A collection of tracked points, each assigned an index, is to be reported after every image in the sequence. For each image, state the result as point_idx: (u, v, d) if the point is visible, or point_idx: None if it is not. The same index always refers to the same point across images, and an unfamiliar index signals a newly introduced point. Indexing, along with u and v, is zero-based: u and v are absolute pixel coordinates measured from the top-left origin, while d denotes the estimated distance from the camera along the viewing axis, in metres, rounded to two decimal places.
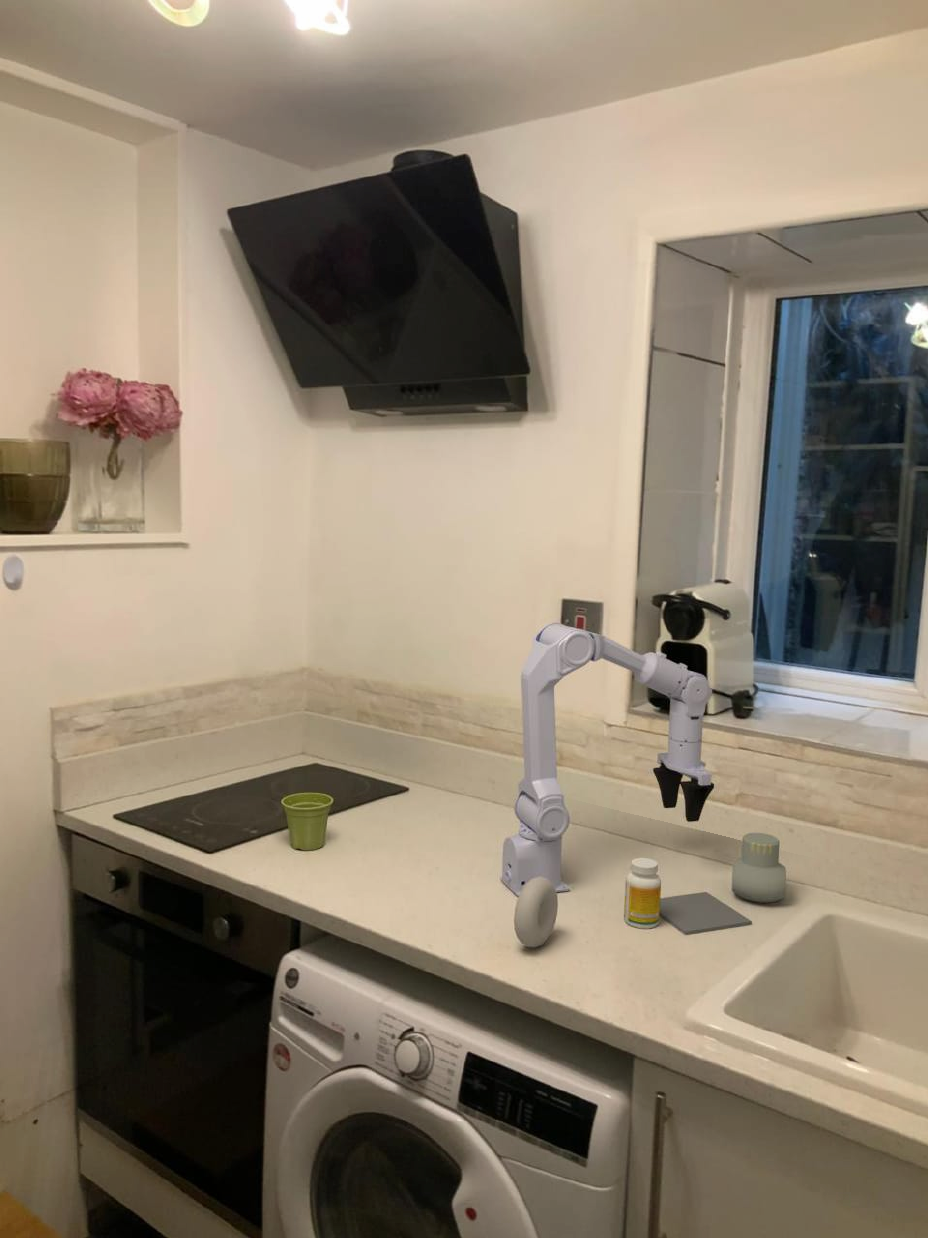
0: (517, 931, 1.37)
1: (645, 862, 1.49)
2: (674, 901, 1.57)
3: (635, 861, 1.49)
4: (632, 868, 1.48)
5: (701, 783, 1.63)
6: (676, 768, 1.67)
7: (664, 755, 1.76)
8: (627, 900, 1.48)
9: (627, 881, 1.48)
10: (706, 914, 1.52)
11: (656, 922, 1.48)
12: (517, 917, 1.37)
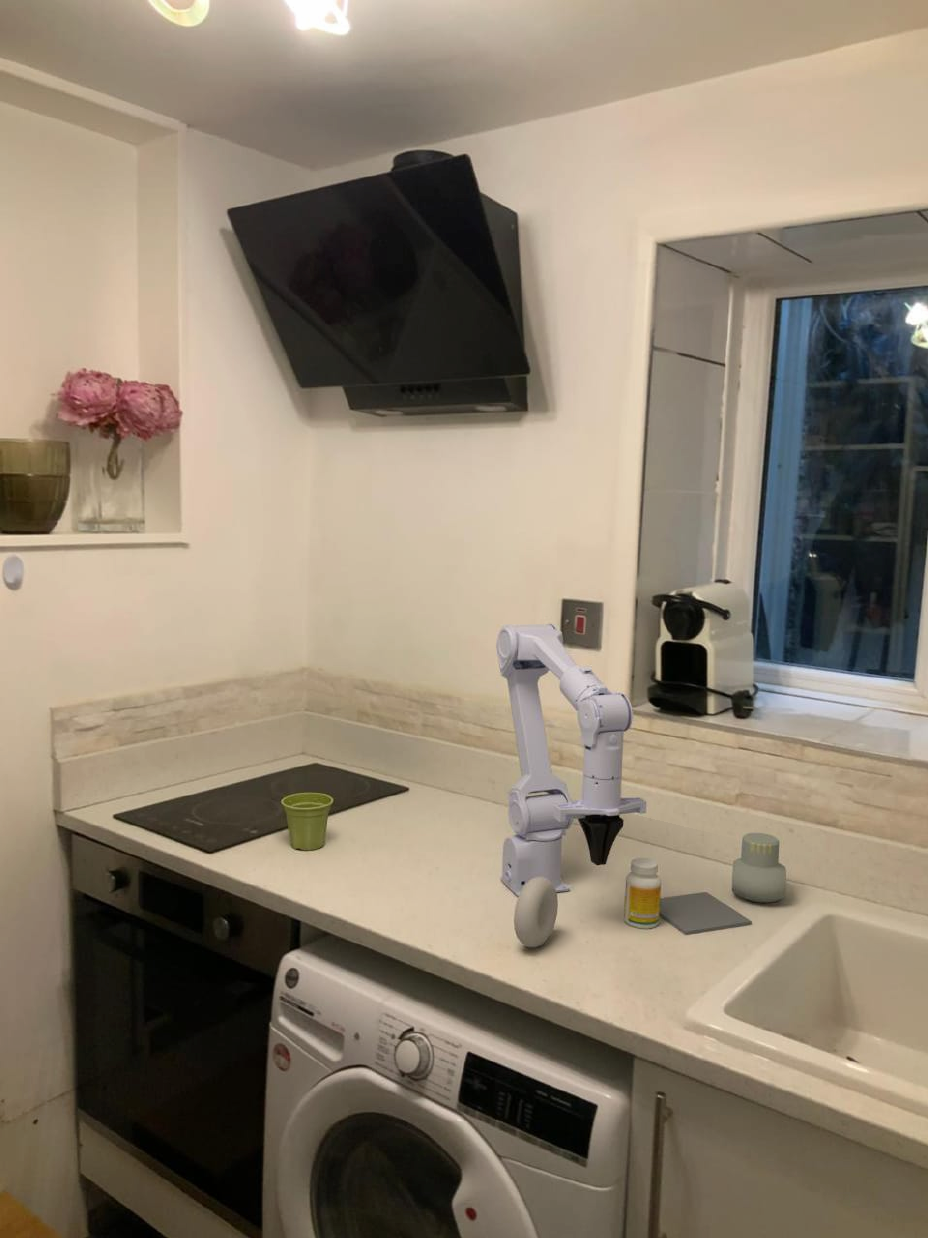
0: (517, 931, 1.37)
1: (645, 862, 1.49)
2: (674, 901, 1.57)
3: (635, 861, 1.49)
4: (632, 868, 1.48)
5: (554, 815, 1.43)
6: (581, 801, 1.46)
7: None
8: (627, 900, 1.48)
9: (627, 881, 1.48)
10: (706, 914, 1.52)
11: (656, 922, 1.48)
12: (517, 917, 1.37)
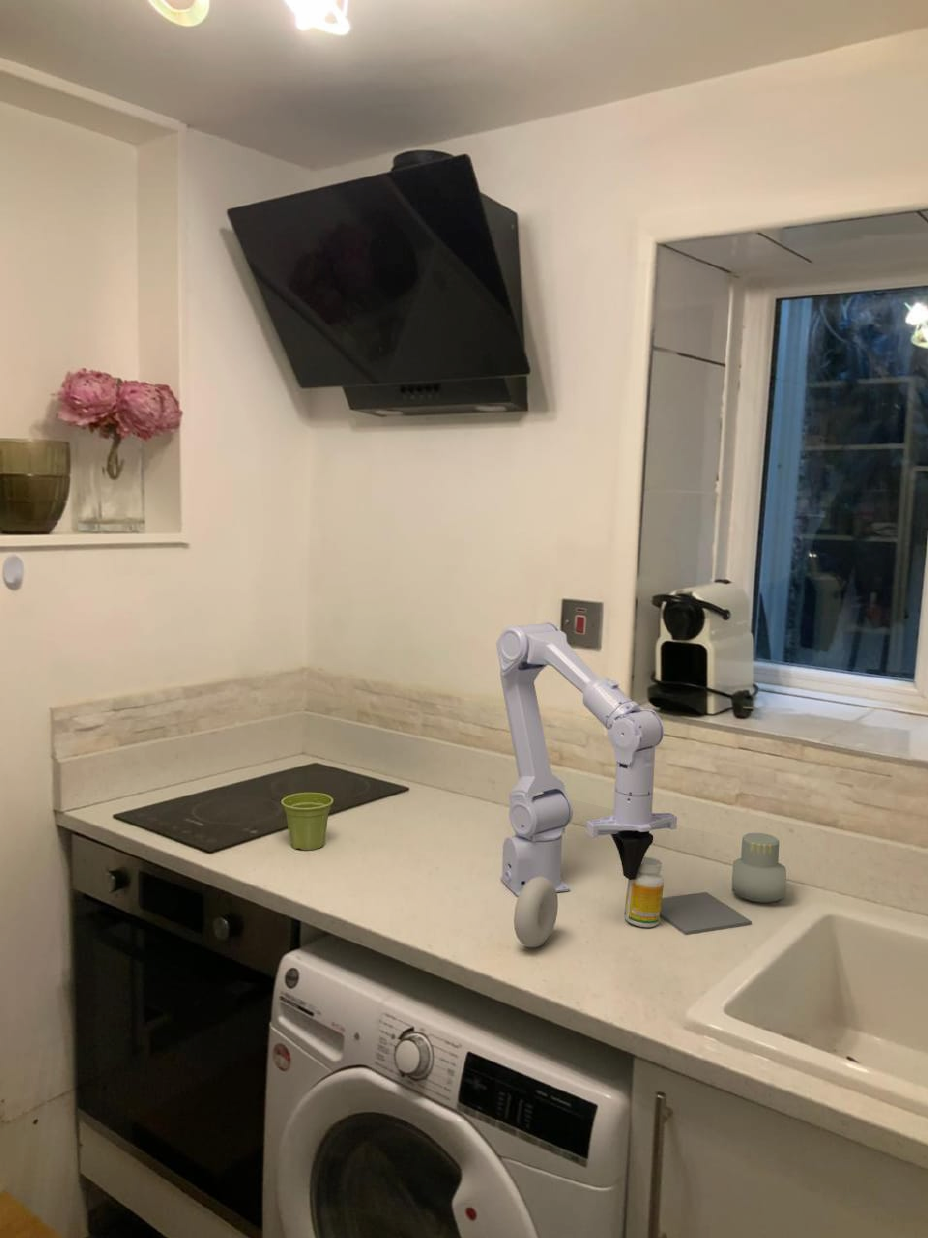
0: (517, 931, 1.37)
1: (649, 861, 1.49)
2: (674, 901, 1.57)
3: None
4: None
5: (587, 831, 1.45)
6: None
7: None
8: (629, 898, 1.48)
9: None
10: (706, 914, 1.52)
11: (656, 921, 1.48)
12: (517, 917, 1.37)
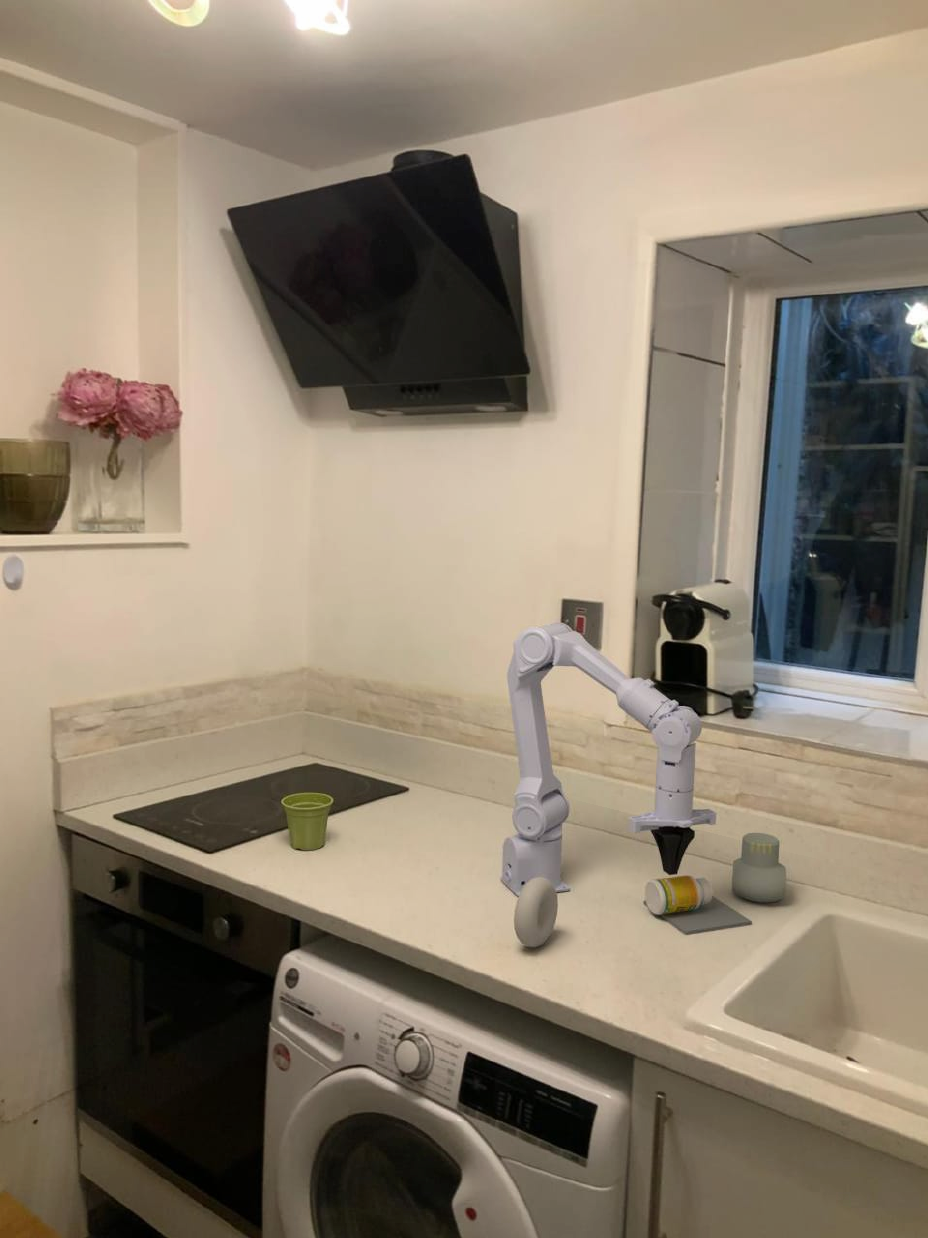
0: (517, 931, 1.37)
1: None
2: None
3: None
4: None
5: (629, 827, 1.48)
6: None
7: None
8: (671, 877, 1.53)
9: None
10: (706, 914, 1.52)
11: (666, 904, 1.49)
12: (517, 917, 1.37)
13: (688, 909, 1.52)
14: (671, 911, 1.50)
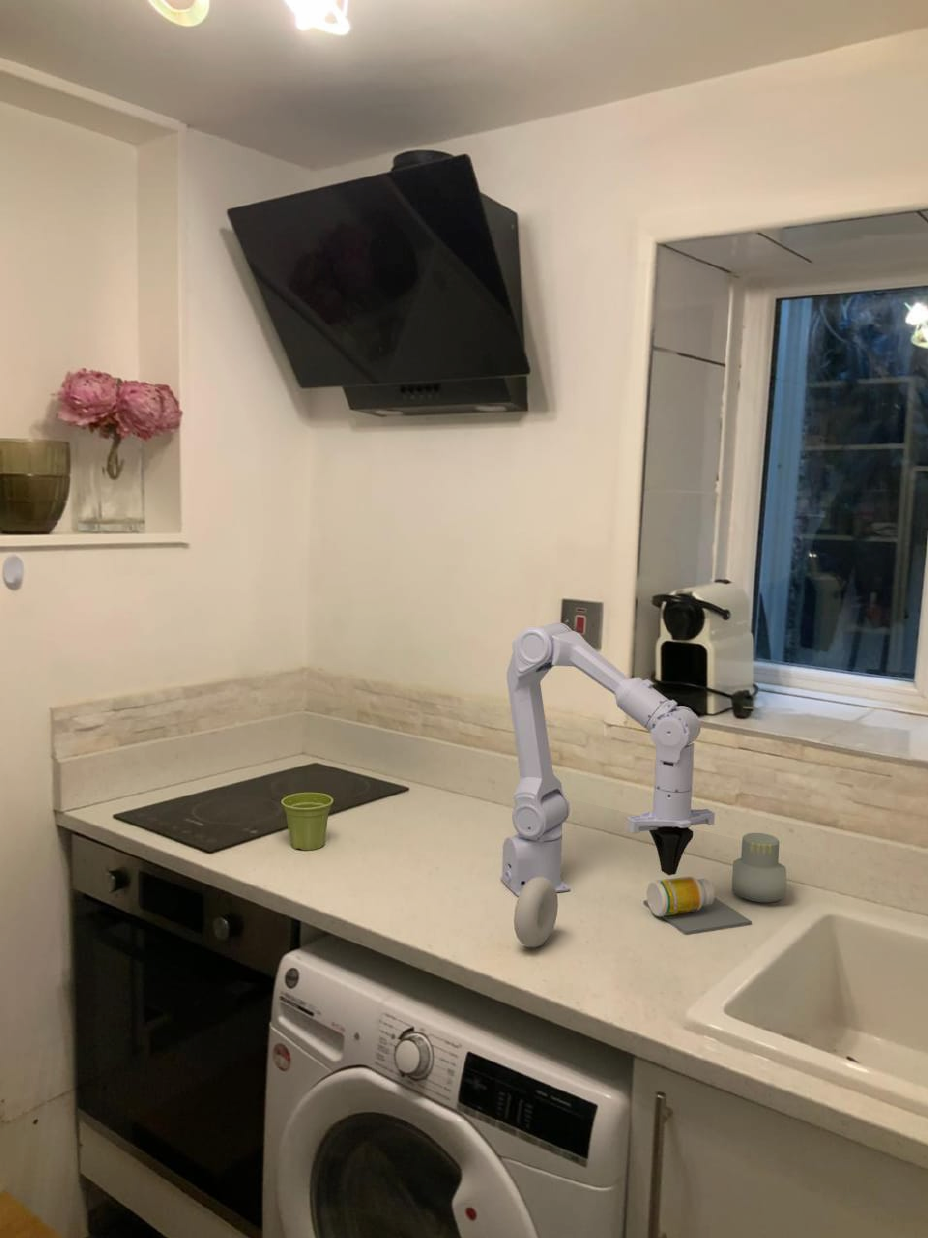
0: (517, 931, 1.37)
1: None
2: None
3: None
4: (701, 879, 1.54)
5: (627, 827, 1.48)
6: None
7: None
8: (675, 879, 1.52)
9: None
10: (706, 914, 1.52)
11: (667, 909, 1.49)
12: (517, 917, 1.37)
13: None
14: (671, 914, 1.50)
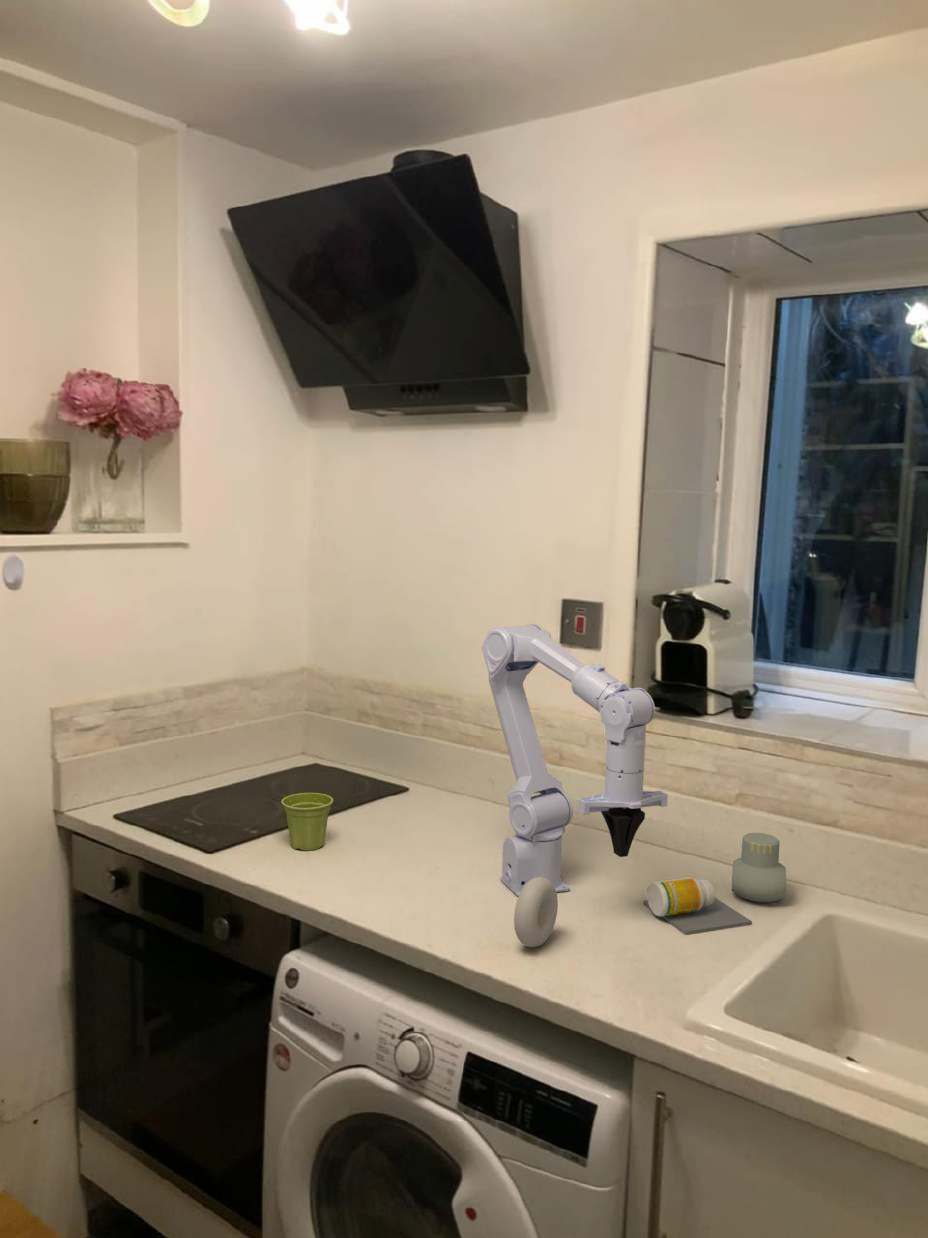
0: (517, 931, 1.37)
1: None
2: None
3: None
4: (702, 880, 1.54)
5: (578, 808, 1.47)
6: None
7: None
8: (676, 879, 1.52)
9: (690, 877, 1.53)
10: (706, 914, 1.52)
11: (667, 910, 1.49)
12: (517, 917, 1.37)
13: (688, 912, 1.51)
14: (671, 914, 1.50)
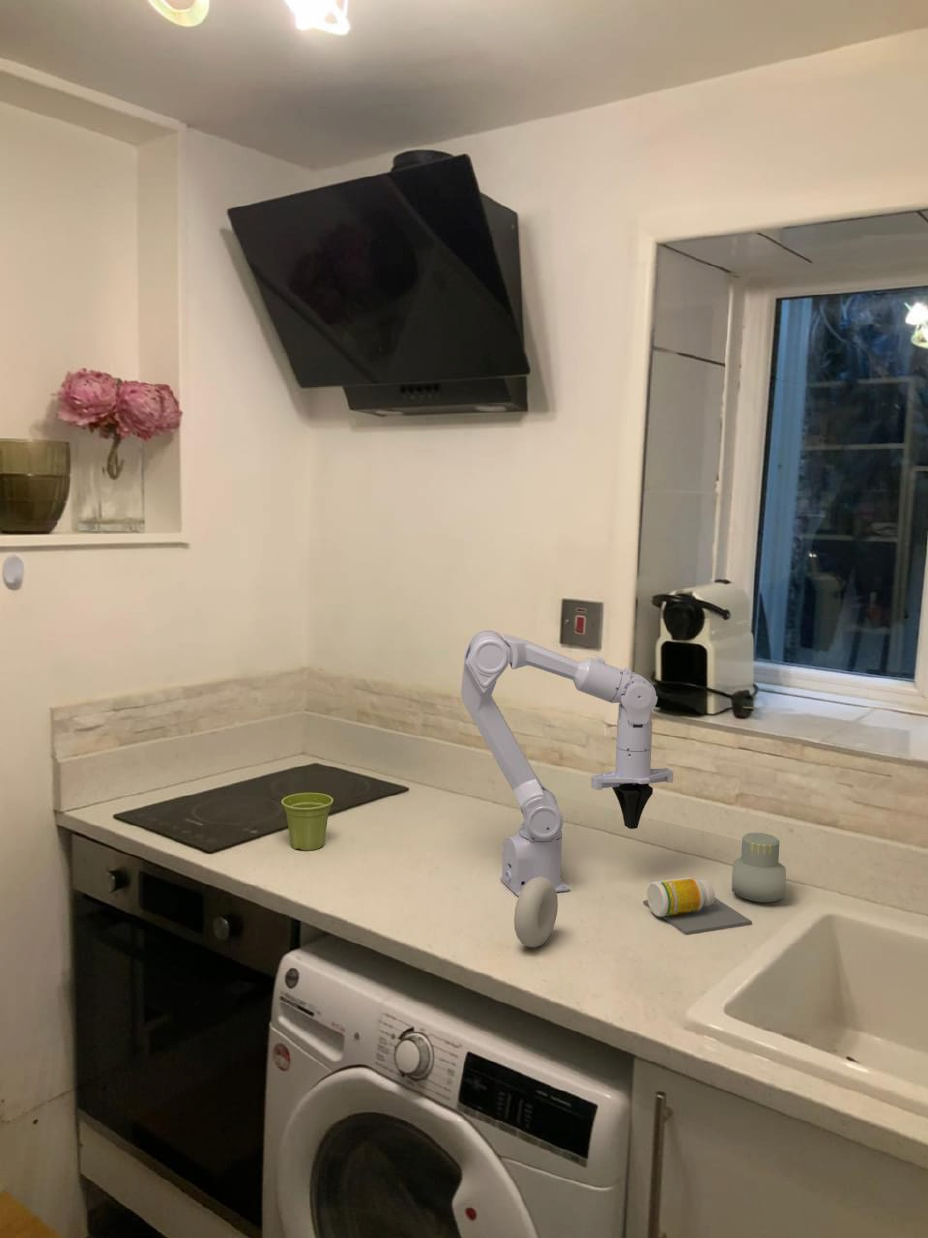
0: (517, 931, 1.37)
1: None
2: None
3: None
4: (702, 880, 1.54)
5: (591, 784, 1.60)
6: None
7: None
8: (676, 879, 1.52)
9: (690, 877, 1.53)
10: (706, 914, 1.52)
11: (667, 910, 1.49)
12: (517, 917, 1.37)
13: (688, 912, 1.51)
14: (672, 914, 1.50)
